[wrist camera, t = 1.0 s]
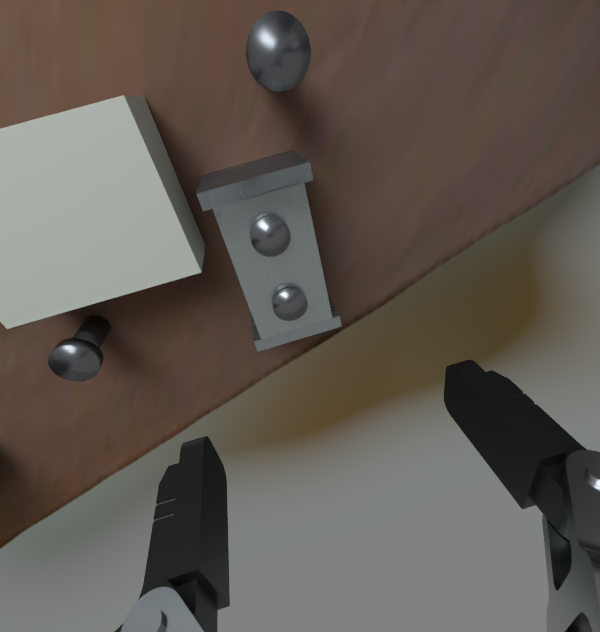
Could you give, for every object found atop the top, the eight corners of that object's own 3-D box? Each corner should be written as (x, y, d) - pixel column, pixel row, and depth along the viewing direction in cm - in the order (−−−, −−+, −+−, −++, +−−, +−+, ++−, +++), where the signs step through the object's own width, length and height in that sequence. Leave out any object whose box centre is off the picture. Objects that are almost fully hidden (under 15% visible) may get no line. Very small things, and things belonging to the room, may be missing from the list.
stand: (144, 96, 21) (123, 95, 17) (205, 245, 26) (201, 272, 22) (-65, 153, 20) (-140, 166, 16) (42, 292, 26) (7, 328, 22)
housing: (292, 149, 24) (312, 163, 18) (322, 290, 30) (343, 330, 25) (202, 174, 24) (195, 196, 18) (252, 310, 30) (258, 356, 25)
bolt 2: (287, 23, 20) (303, 2, 16) (299, 86, 22) (316, 82, 18) (235, 37, 20) (238, 20, 16) (251, 99, 22) (257, 98, 18)
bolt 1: (104, 304, 27) (83, 340, 23) (124, 335, 29) (108, 373, 25) (66, 316, 27) (37, 354, 23) (88, 345, 29) (65, 386, 25)
